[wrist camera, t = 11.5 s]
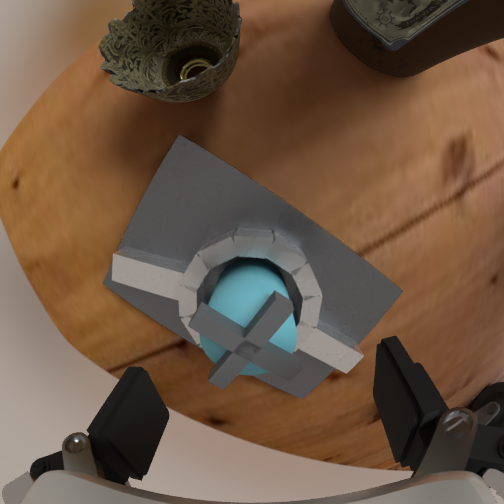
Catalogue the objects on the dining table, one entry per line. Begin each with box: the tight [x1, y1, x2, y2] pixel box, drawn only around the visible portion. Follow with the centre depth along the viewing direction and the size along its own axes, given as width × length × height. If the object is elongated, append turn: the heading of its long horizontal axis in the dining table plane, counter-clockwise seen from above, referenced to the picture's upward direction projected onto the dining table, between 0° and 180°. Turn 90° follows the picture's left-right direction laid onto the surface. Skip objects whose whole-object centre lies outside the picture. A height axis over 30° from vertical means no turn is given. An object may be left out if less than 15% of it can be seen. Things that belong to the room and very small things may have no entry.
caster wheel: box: [471, 382, 504, 429], centre depth 21 cm, size 6×10×15 cm
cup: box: [99, 0, 242, 103], centre depth 13 cm, size 8×7×8 cm
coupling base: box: [103, 135, 403, 399], centre depth 19 cm, size 20×13×4 cm, turn 56°
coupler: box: [188, 258, 302, 389], centre depth 16 cm, size 5×5×7 cm
